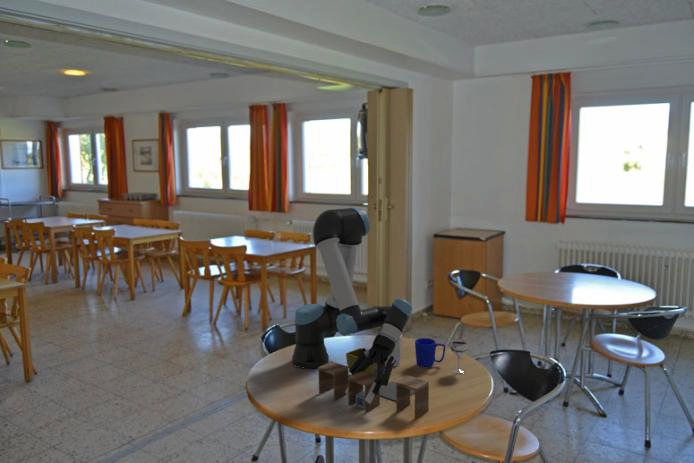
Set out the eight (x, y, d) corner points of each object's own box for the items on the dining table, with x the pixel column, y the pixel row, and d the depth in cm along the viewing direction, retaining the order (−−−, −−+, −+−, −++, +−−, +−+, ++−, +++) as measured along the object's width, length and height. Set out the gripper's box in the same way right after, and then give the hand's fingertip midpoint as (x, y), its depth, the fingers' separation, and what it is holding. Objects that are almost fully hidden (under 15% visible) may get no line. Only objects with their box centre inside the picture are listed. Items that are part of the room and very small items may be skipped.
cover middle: (348, 405, 183) (348, 377, 181) (361, 398, 188) (361, 370, 186) (366, 412, 177) (366, 383, 176) (379, 404, 182) (379, 376, 181)
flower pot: (361, 369, 214) (361, 347, 213) (377, 375, 208) (377, 352, 207) (345, 375, 208) (345, 353, 207) (361, 381, 202) (361, 358, 200)
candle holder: (407, 364, 218) (407, 335, 217) (388, 369, 213) (388, 340, 211) (391, 356, 226) (391, 329, 225) (373, 362, 221) (373, 333, 219)
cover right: (396, 411, 178) (396, 382, 177) (408, 403, 183) (408, 375, 182) (416, 418, 173) (416, 388, 171) (428, 410, 178) (428, 381, 176)
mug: (444, 370, 211) (445, 345, 210) (414, 368, 214) (414, 344, 212) (445, 362, 219) (445, 339, 218) (415, 360, 222) (415, 337, 220)
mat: (371, 392, 192) (371, 391, 192) (391, 382, 201) (391, 381, 201) (398, 402, 184) (398, 401, 184) (418, 391, 193) (418, 390, 193)
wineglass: (471, 373, 208) (471, 343, 206) (455, 375, 206) (456, 345, 204) (461, 367, 214) (462, 338, 213) (446, 369, 212) (447, 340, 210)
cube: (355, 405, 182) (355, 394, 182) (363, 401, 185) (363, 390, 185) (364, 409, 180) (364, 398, 179) (372, 405, 183) (372, 393, 182)
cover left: (318, 393, 192) (318, 367, 190) (332, 387, 197) (331, 361, 196) (335, 400, 186) (334, 372, 185) (348, 393, 192) (348, 366, 190)
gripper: (415, 351, 185) (387, 412, 175) (368, 338, 198) (339, 394, 189) (406, 340, 180) (377, 402, 170) (358, 328, 194) (329, 384, 184)
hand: (357, 398), depth 179 cm, fingers closed on cover middle, 8 cm apart
